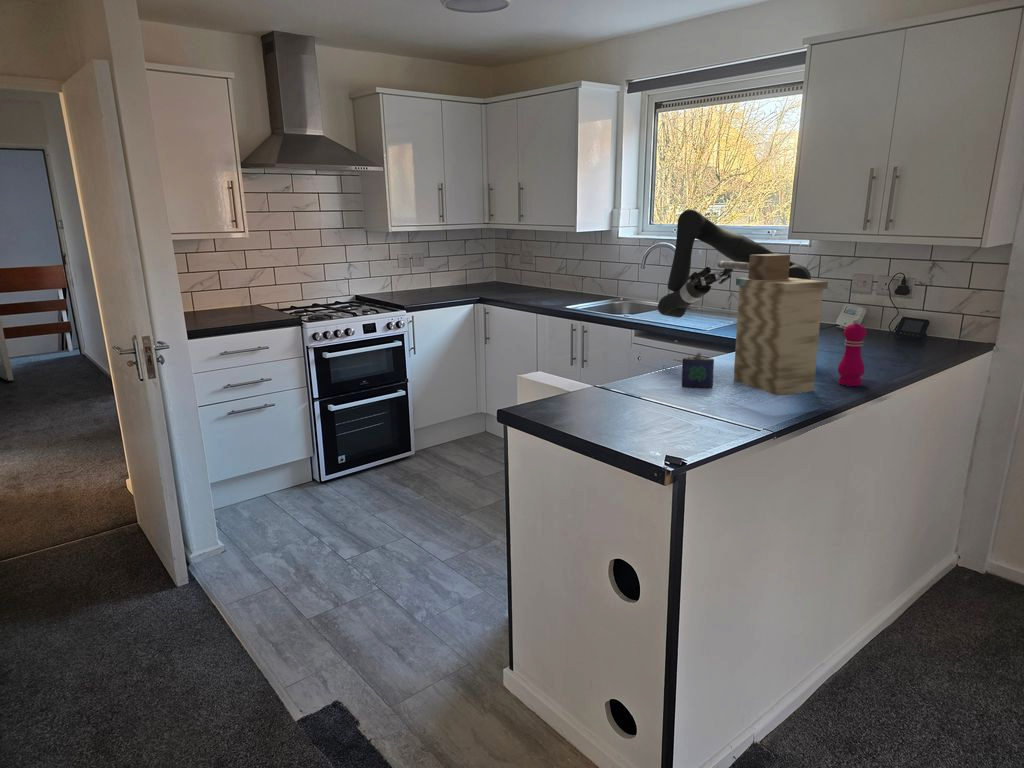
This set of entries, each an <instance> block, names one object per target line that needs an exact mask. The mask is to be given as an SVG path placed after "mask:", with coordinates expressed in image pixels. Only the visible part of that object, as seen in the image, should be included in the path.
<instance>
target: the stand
mask: <svg viewBox="0 0 1024 768" xmlns="http://www.w3.org/2000/svg"><path fill="white" fill-rule="evenodd" d="M735 279H736V280H735V286H738V287H739V288H738V301H737V303H738V304H737V315H736V316H737V317H736V318H737V319H736V334H735V335H736V336H735V349H734V350H735V351H734V352H735V353H734V370H733V382H737V383H740V384H742V385H744V386H748V387H750V388H753V389H756V390H760V391H762V392H765V393H768V394H771V395H774V396H787V395H793V393H795V394H801V393H800V392H804V393H808V392H807V391H812V392H814V391H815V381H816V369H817V359H818V347H819V337H820V328H821V327H820V326H821V318H822V317H821V313H822V305H823V296H824V290H828V285H829V284H828V283H829V282H828V281H825V280H815V279H811V280H807V279H798V278H788V279H780V280H758V279H750V278H748V277H737V278H736V277H735Z"/></svg>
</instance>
